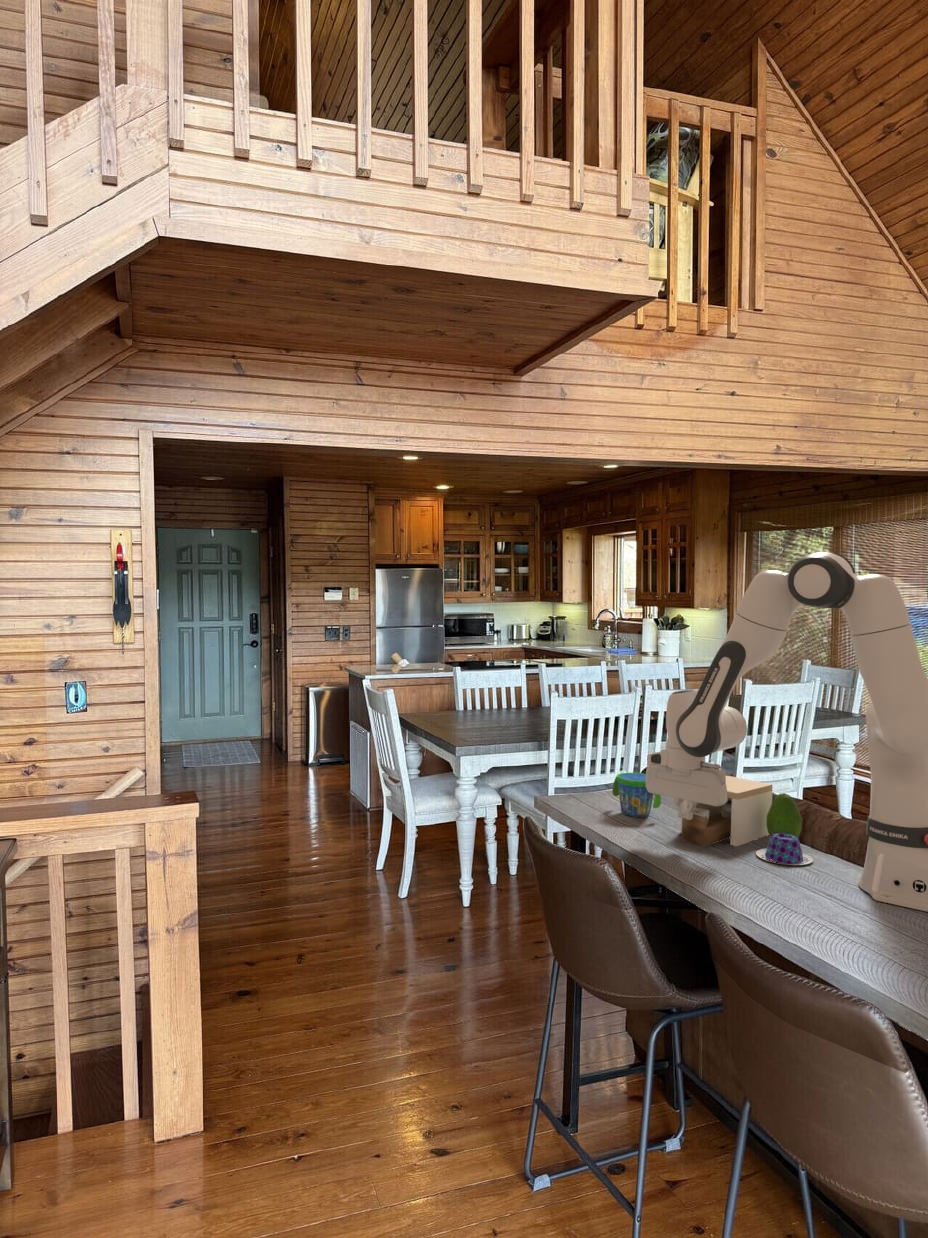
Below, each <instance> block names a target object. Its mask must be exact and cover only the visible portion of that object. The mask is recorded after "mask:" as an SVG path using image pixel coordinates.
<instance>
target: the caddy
mask: <svg viewBox="0 0 928 1238" xmlns="http://www.w3.org/2000/svg"><path fill="white" fill-rule="evenodd" d="M731 808H732V801H727V802H726V803H725V804H724V805H722V807H721V813H719V814H716V815H712V816H709V810H708V809H705V808H695V809H694V813H693V818H692V819H691V820H687V819H683V818H681V825H682V832H681V841H682V840H684V841H683V842H685V841H687V842H686V843H689V842H690V844H693V845H696V844H697V846H700V847H707V846H709V844H710V845H713V844H715V842H716V843H718V842H717V841H719V842H721V841H720V840H722V841H724V840H723V839H725V840H727V839H726V838H729V837H731ZM729 839H730V838H729ZM712 843H713V844H712ZM706 845H707V846H706Z"/></svg>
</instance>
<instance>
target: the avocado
mask: <svg viewBox="0 0 928 1238" xmlns="http://www.w3.org/2000/svg"><path fill="white" fill-rule="evenodd" d="M766 826H767V830H768V833H769V836H770V837H771V835H773V834H777V833H780V834H788V835H793V836H795V837H797V838H798V837H799V836H800V834H801V831H802V829H803V818H802V815H801V812H800V809H799V807H798V806H797V803H796V802H795V799H794V798H793V797H792V796H791V795H789V794H787V793H785V792H784V793H779V794H777V795H775V797H774V798H773V799H772V805H771V807H770V809H769V812H768V814H767V822H766Z"/></svg>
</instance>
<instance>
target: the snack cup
mask: <svg viewBox="0 0 928 1238" xmlns="http://www.w3.org/2000/svg"><path fill="white" fill-rule="evenodd" d="M611 793H612V795H613V796H614V797H618V796H619V804H620V813H621V814H623V815H626V816H630V817H633V818H634V817H636V818H645V817H648V816H649V815H650V814H651V811H652V807H653V809H658V808H659V807H660V806H661V804H662V798H661V795H659V794H654V793H649V792H648V790H647V788H646V773H642V772H622V773H618V774H617V775H616V777H615V778H614V781H613V784H612V792H611ZM653 799H654V800H653ZM652 804H653V805H652Z"/></svg>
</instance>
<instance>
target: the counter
mask: <svg viewBox="0 0 928 1238" xmlns="http://www.w3.org/2000/svg"><path fill="white" fill-rule="evenodd" d="M726 787H727V801H732V808H731V838H730V839H729V841H730V846H732V845H733V847H739V846H741V845H742V846H743V845H745V844H748V843H751V842H753V841H752V840H754V841H756V840H755V839H757V840H759V839H758V838H760V837H763V838H765V837H764V836H766V837H769V836H770V835H769V833H768V830H767V826H766V822H767V814H768V812H769V809H770V807H771V805H772V802H773V784H772V783H767V782H762V781H757V780H751V779H748V778H747V779H746V778H740V777H735V776H732V775H731V776H730V775H726ZM682 804H683V806H684V809H685V810H687V809H688V807H689V805H687V800H684V802H682ZM721 807H722V806H712V805H707V804H702V803H697V806H696V808H705V809H708V810H709V816H712V815H716V814H719V813H721ZM693 813H694V811H693ZM680 828H681V829H680V831H682V824H681V827H680ZM768 835H769V836H768ZM760 839H761V838H760ZM750 841H751V842H750ZM747 842H748V843H747Z"/></svg>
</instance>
